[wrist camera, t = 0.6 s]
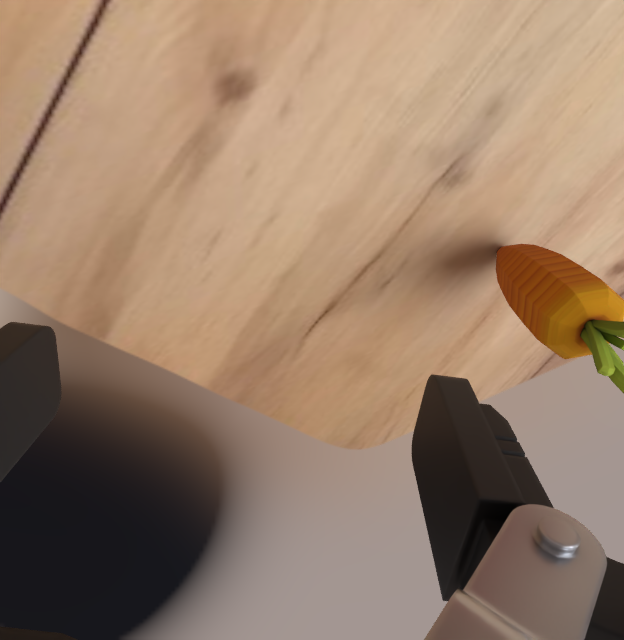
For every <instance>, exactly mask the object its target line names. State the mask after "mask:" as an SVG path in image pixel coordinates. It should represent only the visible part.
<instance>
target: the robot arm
mask: <svg viewBox="0 0 624 640" xmlns="http://www.w3.org/2000/svg"><path fill="white" fill-rule="evenodd" d="M60 400H61V382H60V372H59V363H58V353H57V345H56V337H55V333H54V331H53V329H52V328H51V327H48V326H41V325H33V324H25V323H17V322H10V323H8V324H6V325H5V326H3V327H2V328H1V329H0V482H1V481H2V480H3V478H4V477H5V476H6V475H7V474H8V472H9V471H10V470H11V469H12V468H13V466H14V465H15V464H16V463H17V462H18V460H19V459H20V458H21V457H22V456H23V454H24V453H25V452H26V451H27V449H28V448H29V447H30V446H31V445H32V443H33V442H34V441H35V440H36V439H37V437H38V436H39V435H40V434H41V433H42V431H43V430H44V429H45V428H46V427H47V425H48V424H49V423H50V422H51V420H52V419H53V418H54V416H55V414H56V413H57V410H58V408H59V404H60ZM412 462H413V467H414V471H415V476H416V480H417V485H418V490H419V494H420V499H421V503H422V507H423V512H424V516H425V521H426V526H427V530H428V535H429V540H430V544H431V548H432V553H433V558H434V562H435V567H436V572H437V576H438V581H439V585H440V590H441V594H442V599H443V601H448V603H447V604H446V606H445V608H444V609H443V611H442V612H441V614H440V615H439V617H438V619H437V620H436V622H435V623H434V625H433V626H432V628H431V630H430V631H429V633H428V634H427V636H426V638H425V639H424V640H624V564H623V563H620V562H617V561H615V560H612V559H610V558H607V557H606V555H605V552H604V549H603V548H602V546H601V544H600V543H599V541H598V540H597V539H596V537H595V536H594V535H593V534H592V533H591V532H590V531H589V530H588V529H587V528H586V527H585V526H584V525H583V524H581V523H580V522H578V521H577V520H576V519H574V518H572V517H571V516H569V515H567V514H565V513H563V512H561V511H559V510H556V509H554V508H553V506H552V504H551V502H550V500H549V498H548V496H547V494H546V493H545V491H544V489H543V487H542V485H541V483H540V481H539V479H538V477H537V476H536V474H535V472H534V470H533V468H532V466H531V464H530V463H529V460H528V459H527V457H525V453H524V451H523V449H522V447H521V446H520V443H519V442H517V438H516V436H515V434H514V432H513V430H512V429H511V426H510V425H509V423H508V421H507V420H506V419H505V418H504V417H503V416H502V415H500V414H499V413H498V412H497V411H496V410H495V409H494V408H493V407H492V406H491V405H487V404H479V402H478V400H477V398H476V396H475V393H474V391H473V389H472V387H471V385H470V383H469V381H468V380H467V379H464V378H456V377H448V376H440V375H431V376H430V377H429V379H428V381H427V384H426V387H425V391H424V395H423V399H422V403H421V406H420V410H419V414H418V418H417V422H416V426H415V429H414V434H413V440H412ZM0 640H76V639H74V638H72V637H69V636H67V635H65V634H62V633H52V632H44V631H35V630H25V629H17V628H6V627H0Z"/></svg>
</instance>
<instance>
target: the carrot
mask: <svg viewBox="0 0 624 640" xmlns="http://www.w3.org/2000/svg"><path fill="white" fill-rule="evenodd" d="M496 273H497V280H498V283H499V285H500V288H501V290H502V292H503V294H504V296H505V298H506V300H507V302H508V304H509V306H510V307H511V308H512V310H513V311H514V312H515V313H516V315H517V316H518V317H519V318H520V320H521V321H522V322H523V323H524V325H525V326H526V327H527V328H528V329H529V330H530V331H531V333H532V334H533V335H534V336H535V337H536V338H537V339H538V340H539V341H540V342H541V343H543V344H544V345H545V346H547V347H548V348H549V349H551V350H552V351H553V352H555V353H556V354H557V355H559V356H560V357H562V358H564V359H569V358H575V357H581V356H586V355H593V358H594V363H595V366H596V369H597V371H598V373H600V374H602V375H604V376H609V378H610V379H611V380H612V382H613V383H614V384H615V385H616V386H617V387H618V388H619V389H620V390H621V391H622V392H623V393H624V365H623V362H622V360H621V359H620V358H619V356H618V355H617V354H616V353H615V351H614V350H613V349H612V347H611V346H610V345H609V343H611V344H613V345H615V346H616V347H618V348H620V349H622V350H624V340H622V339H620V338H619V337H622V338H624V322H623V318H624V300H623V299H622V298H621V297H620V296H619V295H618V294H617V293H616V292H614V291H613V290H612V289H611V288H610V287H609V286H608V285H607V284H605V283H604V282H603V281H602V280H601V279H600V278H598V277H597V276H595V275H594V274H592V273H591V272H589V271H587V270H586V269H584V268H583V267H581V266H580V265H578V264H577V263H575V262H573V261H571V260H570V259H568V258H566V257H565V256H563V255H561V254H559V253H556V252H553V251H551V250H548V249H545V248H542V247H539V246H536V245H528V244H517V245H510V246H503V247H501V248H500V249H499V250H498V251H497V259H496ZM617 336H618V337H617Z"/></svg>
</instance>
